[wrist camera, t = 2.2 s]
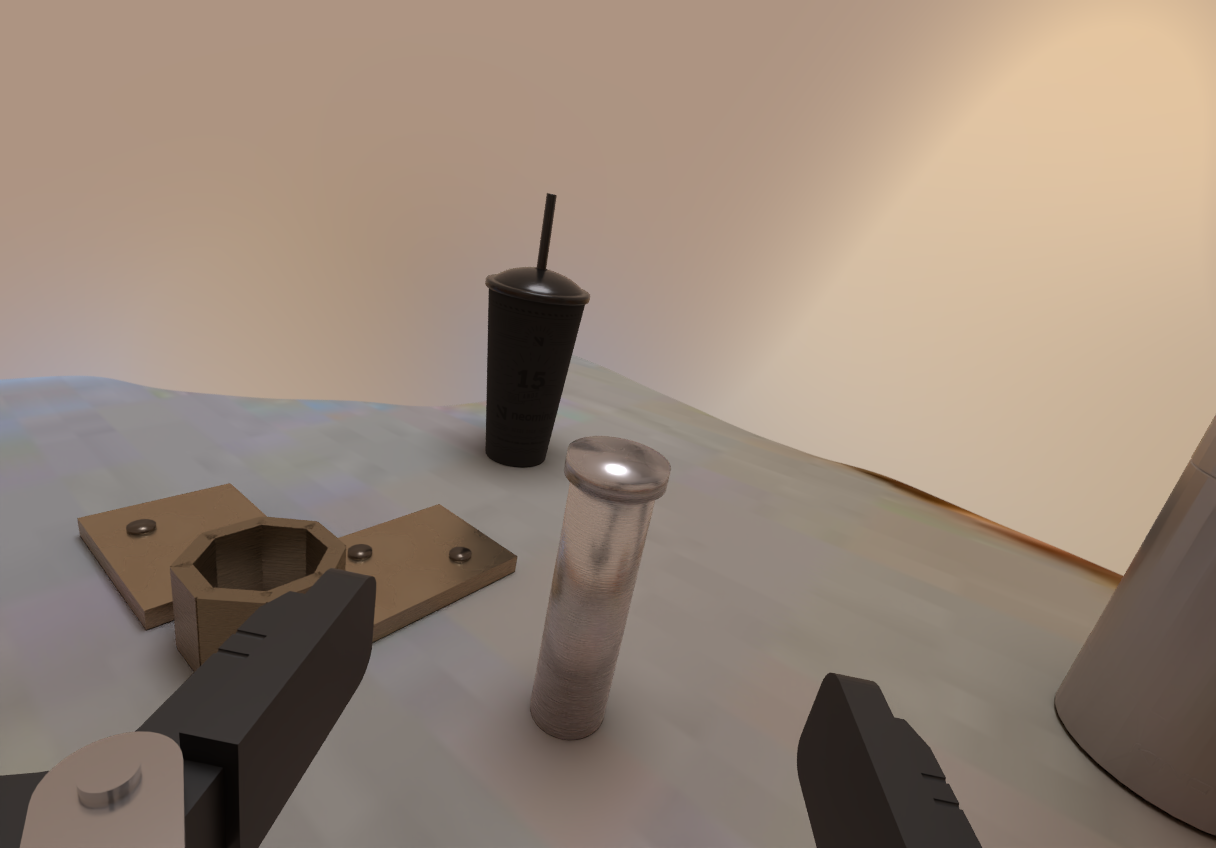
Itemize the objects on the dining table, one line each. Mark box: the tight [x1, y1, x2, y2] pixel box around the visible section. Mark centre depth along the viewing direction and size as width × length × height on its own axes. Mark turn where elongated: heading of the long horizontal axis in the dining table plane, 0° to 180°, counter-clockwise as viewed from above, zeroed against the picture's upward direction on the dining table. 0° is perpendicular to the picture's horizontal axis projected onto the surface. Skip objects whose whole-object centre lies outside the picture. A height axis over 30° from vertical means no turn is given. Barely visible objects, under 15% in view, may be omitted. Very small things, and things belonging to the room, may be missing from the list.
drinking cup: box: [485, 193, 590, 467], centre depth 46 cm, size 8×8×20 cm
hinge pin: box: [530, 436, 671, 740], centre depth 24 cm, size 4×4×12 cm
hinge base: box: [77, 483, 517, 672], centre depth 32 cm, size 16×16×4 cm
